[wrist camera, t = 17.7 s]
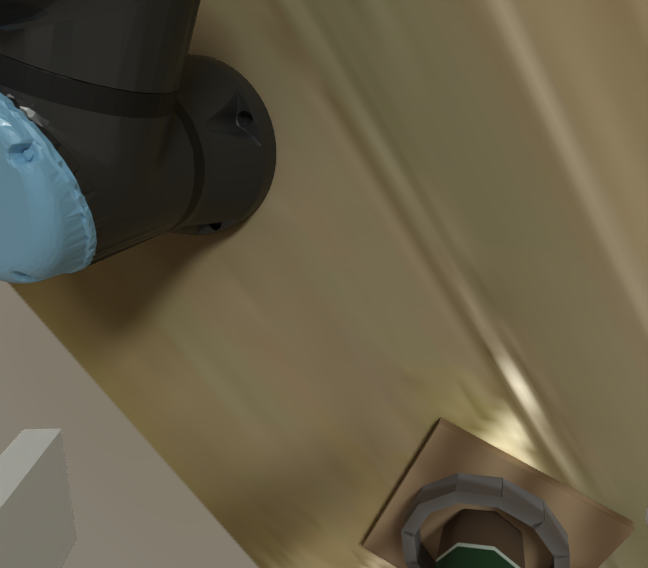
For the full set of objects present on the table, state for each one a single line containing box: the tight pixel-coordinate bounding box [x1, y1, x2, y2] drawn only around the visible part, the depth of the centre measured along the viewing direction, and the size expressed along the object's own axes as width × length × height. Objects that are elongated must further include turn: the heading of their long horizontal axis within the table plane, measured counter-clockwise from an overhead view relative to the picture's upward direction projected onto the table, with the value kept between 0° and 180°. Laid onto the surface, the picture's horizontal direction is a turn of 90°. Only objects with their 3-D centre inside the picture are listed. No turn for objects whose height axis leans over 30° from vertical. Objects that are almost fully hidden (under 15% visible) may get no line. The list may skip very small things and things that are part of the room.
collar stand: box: [363, 418, 634, 568], centre depth 49 cm, size 18×18×4 cm
